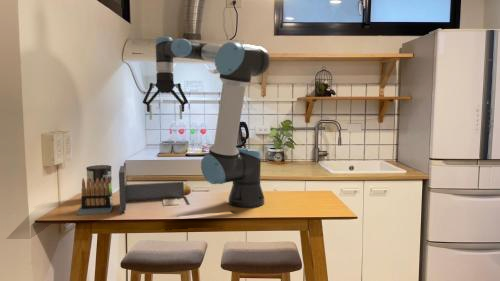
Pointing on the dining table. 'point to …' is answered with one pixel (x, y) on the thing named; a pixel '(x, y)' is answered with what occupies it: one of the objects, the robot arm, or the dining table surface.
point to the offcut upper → (170, 202)
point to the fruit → (186, 189)
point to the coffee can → (100, 175)
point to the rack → (147, 191)
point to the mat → (95, 210)
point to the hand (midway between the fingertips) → (165, 119)
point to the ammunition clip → (91, 199)
